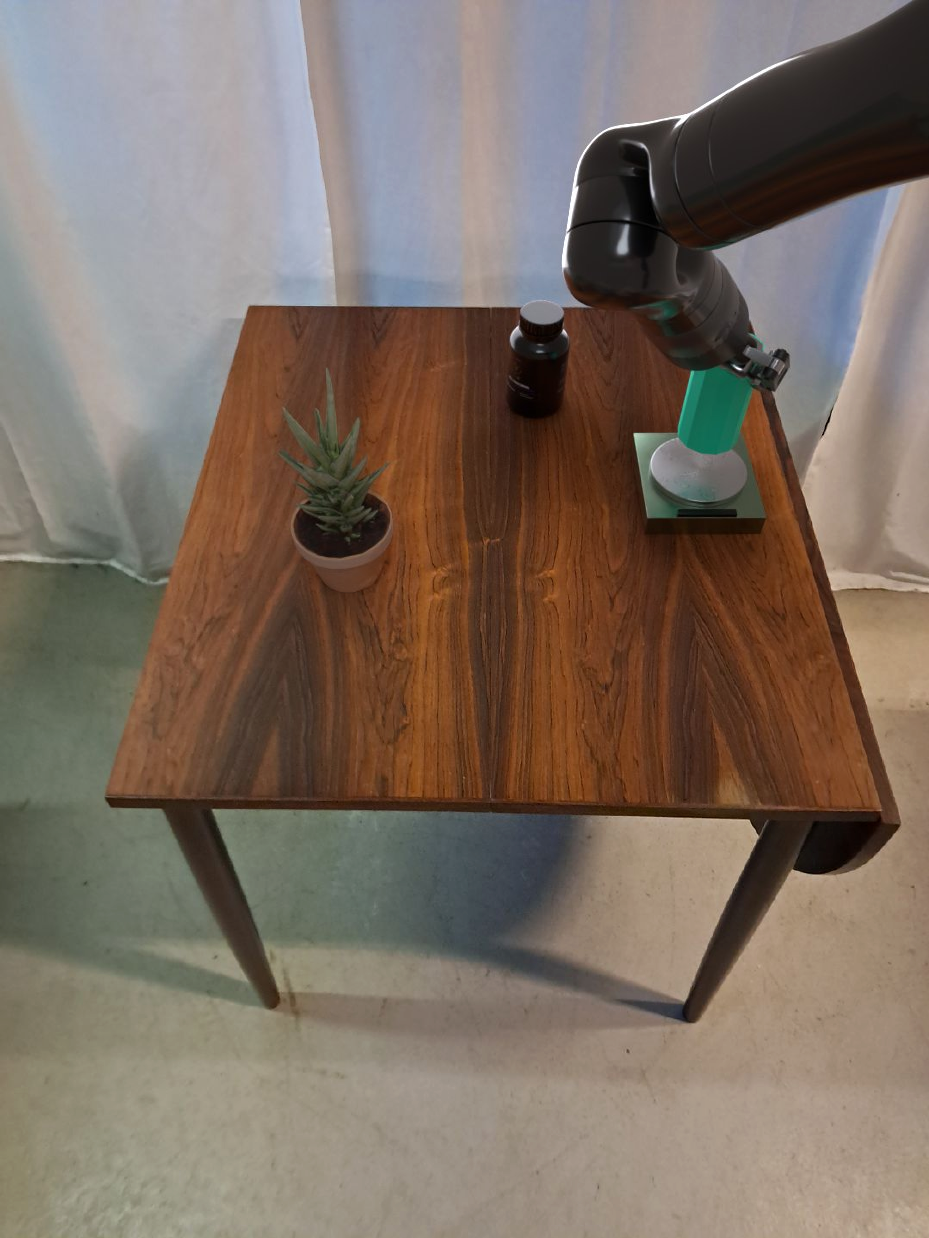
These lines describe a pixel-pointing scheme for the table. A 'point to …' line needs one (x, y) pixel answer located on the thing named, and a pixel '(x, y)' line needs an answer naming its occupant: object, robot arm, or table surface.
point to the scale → (695, 488)
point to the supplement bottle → (538, 360)
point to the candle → (713, 410)
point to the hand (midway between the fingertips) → (733, 366)
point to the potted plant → (338, 507)
